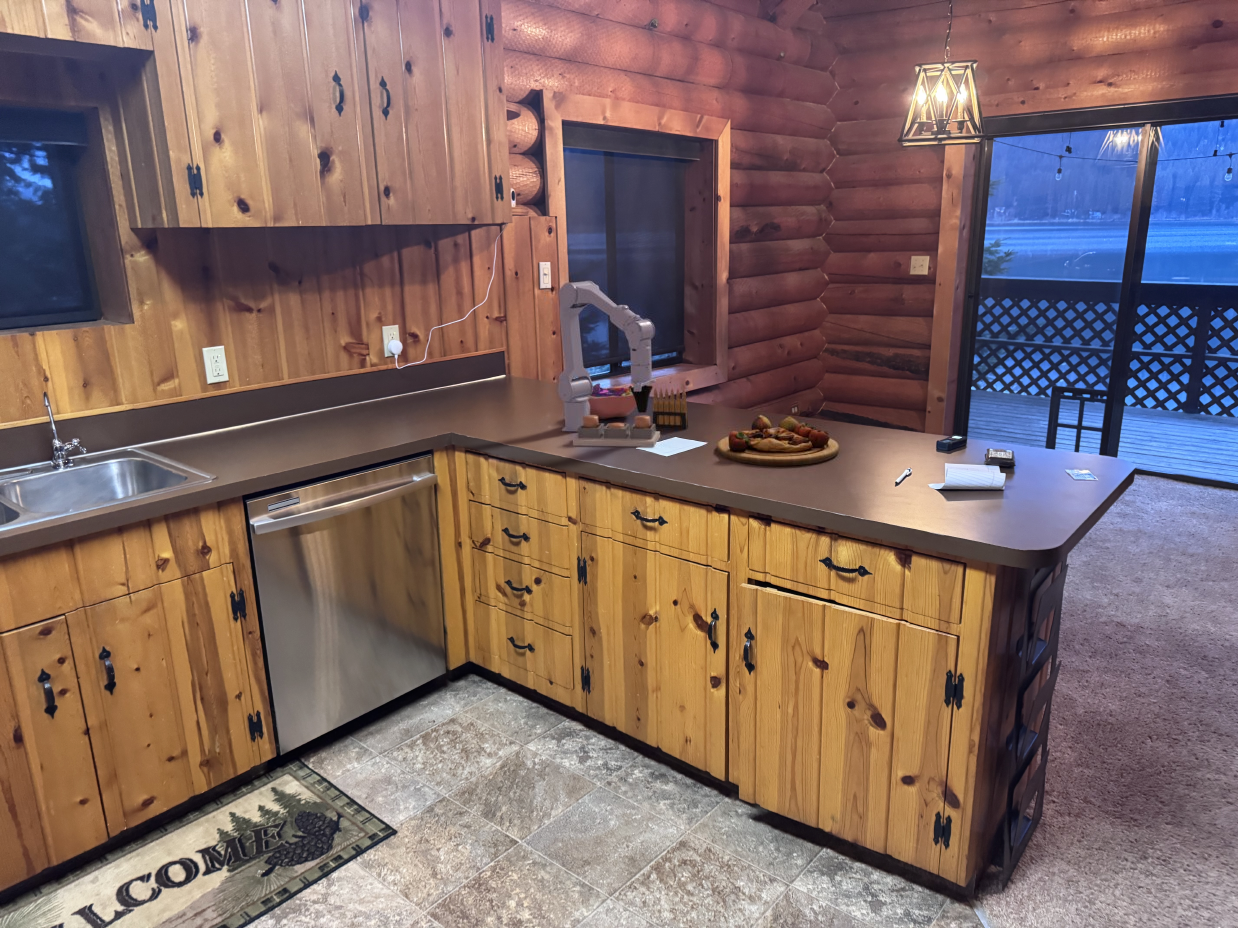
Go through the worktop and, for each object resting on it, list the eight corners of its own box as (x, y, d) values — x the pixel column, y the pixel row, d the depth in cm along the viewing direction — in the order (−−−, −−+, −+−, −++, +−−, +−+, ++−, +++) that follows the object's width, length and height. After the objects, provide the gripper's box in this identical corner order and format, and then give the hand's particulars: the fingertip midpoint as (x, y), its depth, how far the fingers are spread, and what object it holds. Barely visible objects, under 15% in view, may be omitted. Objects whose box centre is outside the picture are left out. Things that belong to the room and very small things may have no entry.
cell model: (641, 422, 266) (640, 387, 263) (577, 424, 267) (575, 388, 264) (641, 411, 283) (640, 377, 280) (580, 413, 283) (579, 379, 280)
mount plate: (582, 435, 253) (582, 421, 252) (660, 436, 248) (659, 421, 247) (572, 445, 241) (572, 430, 240) (653, 446, 237) (653, 431, 236)
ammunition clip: (652, 427, 259) (651, 388, 256) (654, 426, 261) (653, 387, 258) (686, 429, 256) (686, 389, 253) (688, 428, 257) (687, 388, 254)
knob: (636, 426, 245) (636, 415, 244) (651, 426, 244) (651, 415, 243) (633, 429, 241) (633, 418, 240) (649, 430, 240) (648, 418, 239)
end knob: (585, 425, 248) (584, 414, 247) (600, 425, 247) (599, 415, 246) (581, 429, 244) (581, 418, 243) (596, 429, 243) (596, 418, 242)
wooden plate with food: (739, 473, 211) (739, 440, 209) (702, 443, 241) (701, 414, 239) (860, 462, 217) (861, 430, 214) (809, 434, 247) (810, 406, 245)
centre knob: (610, 433, 247) (610, 422, 246) (625, 433, 246) (625, 422, 245) (607, 437, 243) (607, 426, 242) (623, 437, 242) (622, 426, 241)
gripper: (651, 368, 230) (652, 417, 234) (659, 360, 244) (660, 406, 247) (625, 368, 231) (627, 417, 235) (634, 360, 245) (636, 406, 249)
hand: (642, 412), depth 241 cm, fingers closed
